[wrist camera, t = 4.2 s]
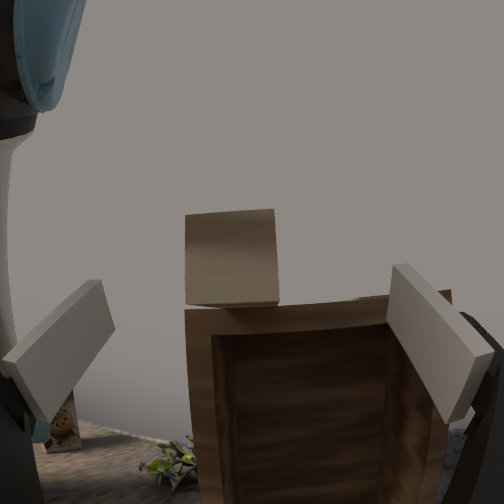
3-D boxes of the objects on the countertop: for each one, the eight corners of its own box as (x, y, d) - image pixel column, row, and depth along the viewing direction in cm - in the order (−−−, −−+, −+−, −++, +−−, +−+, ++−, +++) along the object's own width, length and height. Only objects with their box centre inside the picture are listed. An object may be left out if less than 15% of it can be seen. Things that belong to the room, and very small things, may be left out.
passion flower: (202, 498, 40) (238, 460, 42) (168, 518, 31) (207, 478, 32) (160, 459, 46) (191, 419, 47) (122, 470, 36) (153, 426, 38)
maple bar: (279, 300, 13) (274, 208, 13) (185, 304, 13) (185, 215, 14) (275, 308, 36) (273, 275, 37) (242, 310, 36) (240, 277, 37)
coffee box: (46, 454, 39) (32, 380, 42) (38, 442, 42) (26, 374, 45) (83, 449, 46) (72, 379, 49) (73, 438, 49) (63, 373, 53)
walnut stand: (418, 550, 15) (450, 286, 22) (215, 574, 17) (184, 306, 23) (384, 497, 29) (392, 297, 35) (231, 512, 30) (217, 309, 37)
